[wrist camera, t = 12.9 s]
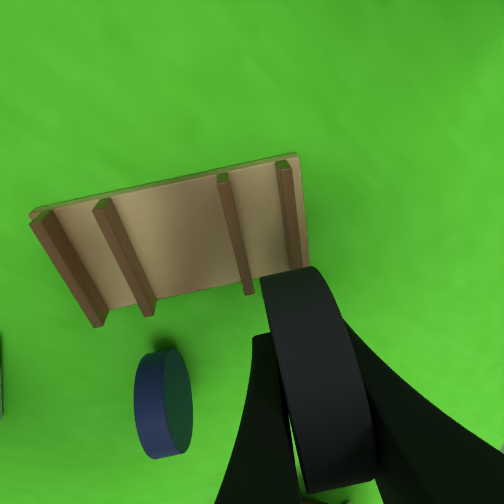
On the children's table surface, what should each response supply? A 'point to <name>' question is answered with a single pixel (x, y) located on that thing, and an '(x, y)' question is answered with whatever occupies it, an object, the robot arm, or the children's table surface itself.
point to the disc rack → (177, 235)
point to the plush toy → (314, 501)
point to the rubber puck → (320, 381)
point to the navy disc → (163, 404)
